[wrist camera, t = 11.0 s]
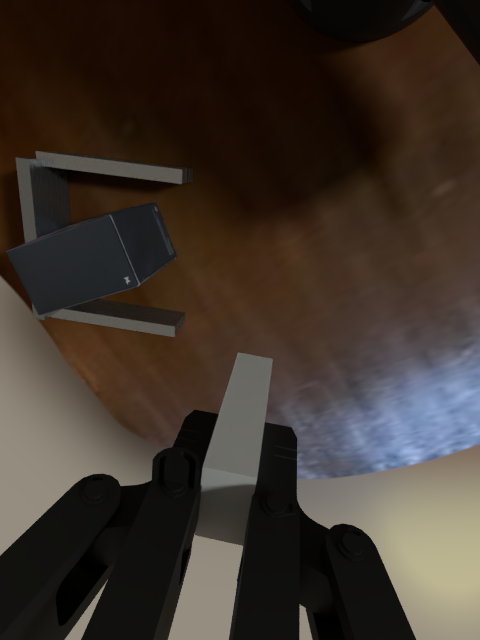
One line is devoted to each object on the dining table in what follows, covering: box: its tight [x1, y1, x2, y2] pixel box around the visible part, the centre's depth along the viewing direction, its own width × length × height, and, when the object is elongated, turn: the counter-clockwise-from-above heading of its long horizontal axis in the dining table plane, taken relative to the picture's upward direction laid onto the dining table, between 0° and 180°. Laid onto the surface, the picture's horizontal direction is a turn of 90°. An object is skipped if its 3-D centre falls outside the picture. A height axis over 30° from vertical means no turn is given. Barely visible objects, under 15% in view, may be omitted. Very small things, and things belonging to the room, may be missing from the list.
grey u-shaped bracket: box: [16, 151, 193, 337], centre depth 38 cm, size 16×14×6 cm
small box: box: [6, 203, 177, 315], centre depth 37 cm, size 11×6×10 cm, turn 108°
